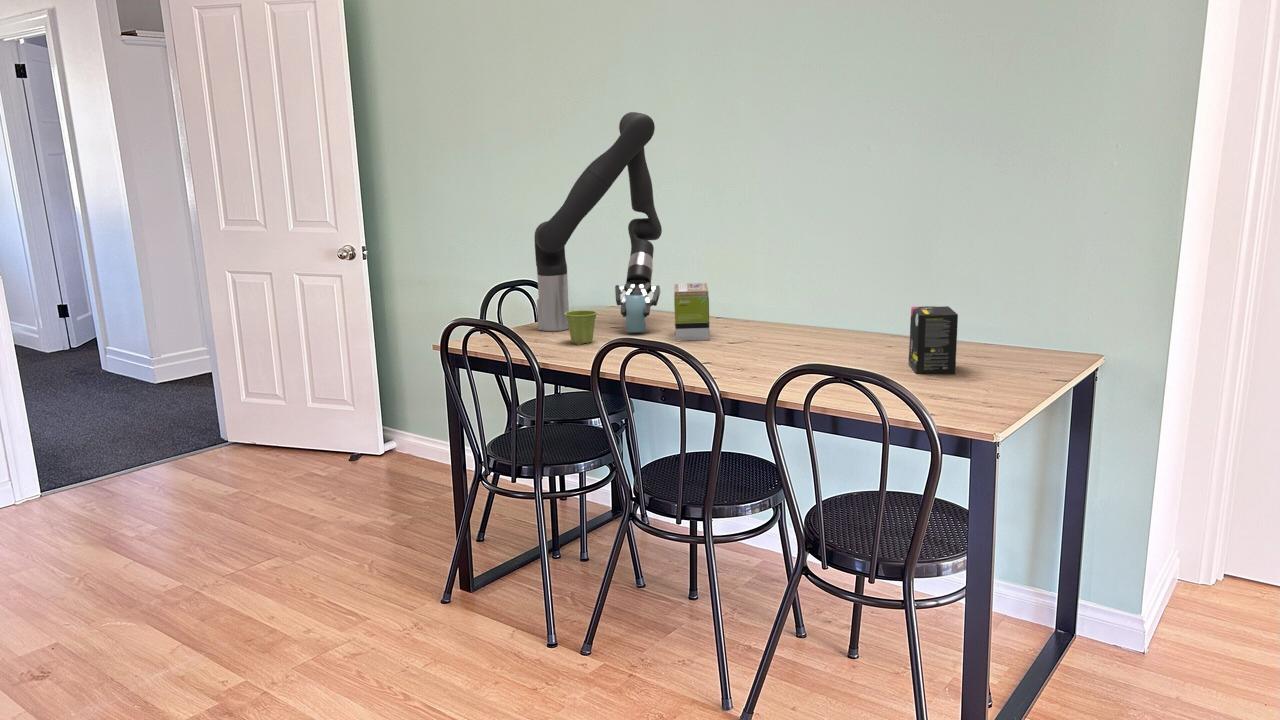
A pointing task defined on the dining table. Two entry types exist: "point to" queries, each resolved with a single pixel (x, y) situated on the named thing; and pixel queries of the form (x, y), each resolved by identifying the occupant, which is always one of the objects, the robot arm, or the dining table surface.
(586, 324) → the plant pot
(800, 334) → the dining table surface
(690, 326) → the tea box
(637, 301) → the light blue rounded cylinder
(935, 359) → the tampon box
